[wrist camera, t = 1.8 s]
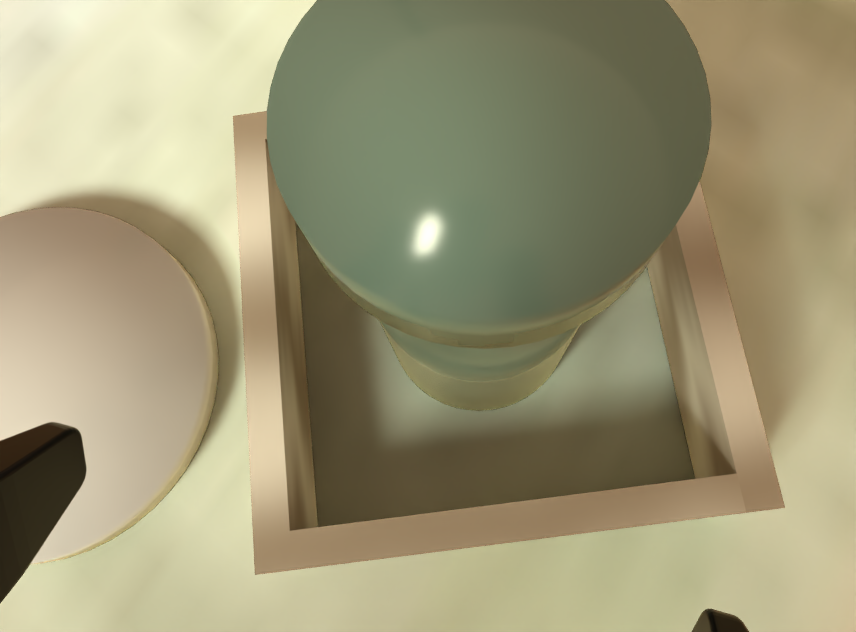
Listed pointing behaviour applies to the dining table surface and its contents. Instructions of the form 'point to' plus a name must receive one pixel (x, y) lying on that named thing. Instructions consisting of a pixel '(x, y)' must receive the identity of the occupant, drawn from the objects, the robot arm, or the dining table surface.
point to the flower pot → (487, 170)
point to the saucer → (103, 361)
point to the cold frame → (501, 523)
